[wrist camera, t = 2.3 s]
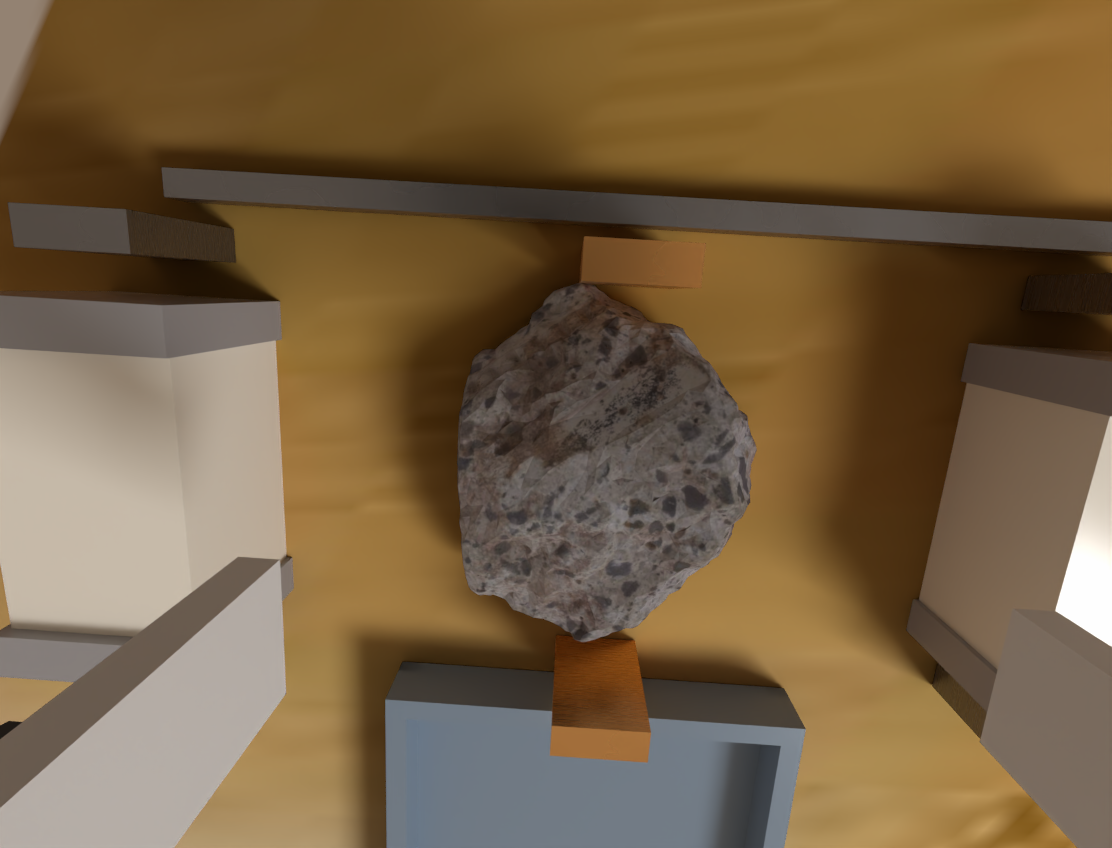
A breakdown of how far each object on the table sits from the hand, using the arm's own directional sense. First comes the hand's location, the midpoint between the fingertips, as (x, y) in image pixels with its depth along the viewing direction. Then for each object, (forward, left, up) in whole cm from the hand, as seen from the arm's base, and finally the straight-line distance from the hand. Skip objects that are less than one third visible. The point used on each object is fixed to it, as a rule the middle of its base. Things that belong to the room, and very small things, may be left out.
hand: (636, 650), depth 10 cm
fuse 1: (0, -13, -9) cm, 16 cm away
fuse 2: (0, +14, -9) cm, 16 cm away
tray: (+14, 0, -9) cm, 17 cm away
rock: (-1, -1, -10) cm, 10 cm away
